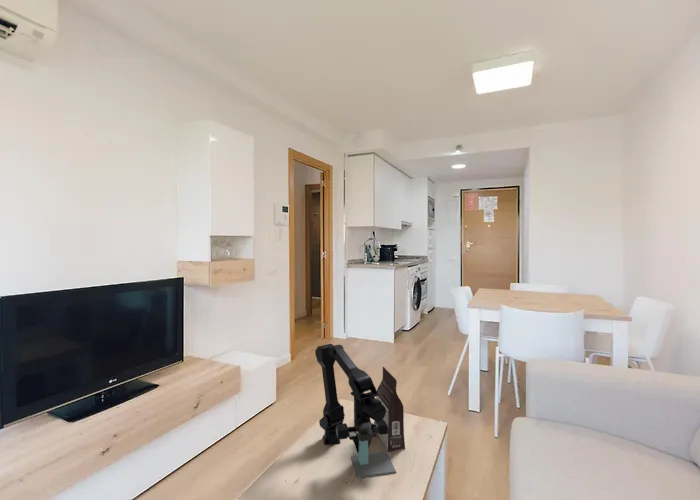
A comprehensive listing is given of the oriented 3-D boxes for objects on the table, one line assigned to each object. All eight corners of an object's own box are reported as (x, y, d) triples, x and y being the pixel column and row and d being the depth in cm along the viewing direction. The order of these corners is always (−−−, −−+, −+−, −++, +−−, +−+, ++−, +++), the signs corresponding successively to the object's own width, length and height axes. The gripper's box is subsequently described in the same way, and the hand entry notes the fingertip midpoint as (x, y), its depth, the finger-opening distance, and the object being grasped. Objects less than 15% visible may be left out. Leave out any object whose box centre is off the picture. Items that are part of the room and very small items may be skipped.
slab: (356, 453, 133) (356, 429, 132) (364, 452, 133) (363, 428, 133) (360, 464, 126) (360, 440, 126) (368, 463, 126) (368, 439, 126)
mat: (351, 457, 135) (351, 455, 135) (386, 452, 138) (386, 451, 138) (357, 478, 123) (357, 476, 123) (396, 472, 126) (396, 471, 126)
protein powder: (407, 448, 140) (407, 379, 139) (386, 452, 138) (386, 382, 137) (392, 427, 156) (391, 364, 155) (373, 430, 154) (372, 367, 153)
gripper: (340, 424, 119) (340, 469, 120) (392, 418, 123) (393, 462, 123) (335, 408, 130) (335, 449, 131) (383, 403, 134) (384, 443, 134)
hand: (362, 451), depth 130 cm, fingers closed on slab, 3 cm apart
